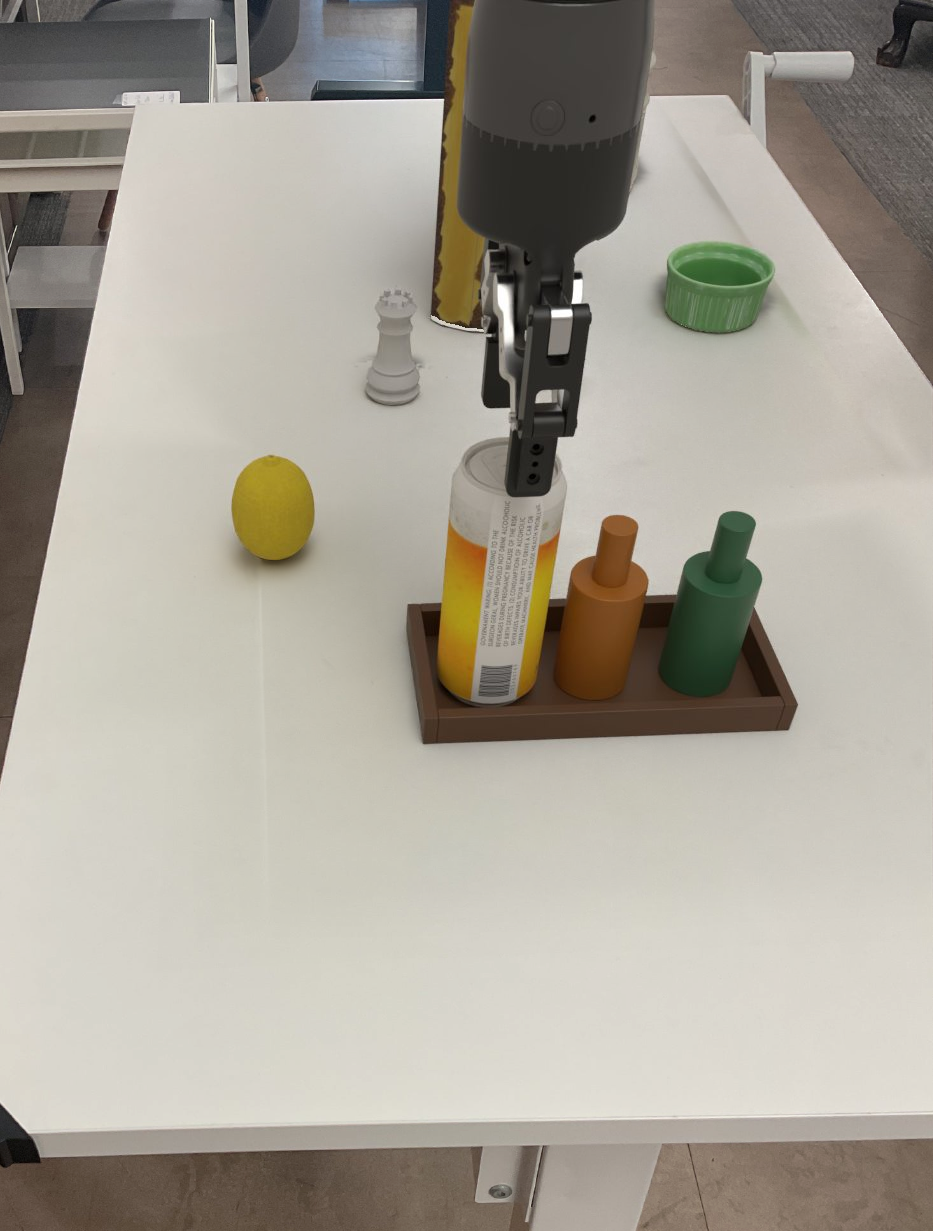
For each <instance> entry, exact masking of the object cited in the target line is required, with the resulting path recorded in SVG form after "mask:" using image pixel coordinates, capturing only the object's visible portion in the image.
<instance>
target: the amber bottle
mask: <svg viewBox="0 0 933 1231" xmlns="http://www.w3.org/2000/svg"><path fill="white" fill-rule="evenodd" d="M639 529H640V528H639V523H638V522H637V521H636V520H635V519H634V518H632V517H630V516H627V515H623V514H611V515H609V516H606V517H605V518H603V520H602V521H601V525H600V531H599V535H598V541H597V547H596V550H595V555H590V556H587V557H584V558H582V559H580V560H579V561H577V562H576V563H575V564H574V565H573V567H571V568H572V569H571V571H570V574H569V581H568V586H567V592H566V603H565V608H564V614H563V620H562V626H561V632H560V637H559V643H558V649H557V655H556V660H555V666H554V678H555V681H556V683H557V685H558V686H559V687H560V688H561V689H562V690H563V691H565V692H566V693H568V694H569V695H571V696H574V697H576V698H580V699H584V700H592V701H597V700H605V699H609V698H611V697H614V696H615V695H617V694H618V693H620V692H621V691H622V689H623V688H624V686H625V684H626V680H627V675H628V671H629V667H630V662H631V658H632V654H633V649H634V645H635V641H636V636H637V632H638V628H639V623H640V619H641V615H642V610H643V606H644V602H645V597H646V595H647V594H648V588H649V583H650V582H649V580H650V579H649V577H648V574H647V573H646V571H645V570H644V569H643V568H642V566H641V565H639V564H638V563H636V562H634V561H633V556H634V552H635V551H634V550H635V546H636V541H637V537H638V532H639Z"/></svg>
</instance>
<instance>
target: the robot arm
mask: <svg viewBox="0 0 933 1231" xmlns="http://www.w3.org/2000/svg"><path fill="white" fill-rule="evenodd" d="M655 10H656V0H475V2H474V8H473V13H472V18H471V23H470V29H469V35H468V43H467V54H466V69H465V84H464V99H463V113H462V129H461V144H460V159H459V174H458V189H457V210H458V214H459V216H460V218H461V220H462V221H463V222H464V224H465V225H466V226H467V227H468V228H469V229H471V230H472V231H473V232H475V233H476V234H478V235H480V236H482V237H484V238H485V240H484V250H483V261H482V272H481V282H480V289H478V300H480V306H481V307H482V313H483V315H484V316H483V317H482V320H481V325H482V327H483V330H484V333H483V334H484V335H491V336H485V345H484V356H483V365H482V366H483V368H482V380H481V389H480V390H481V391H480V398H481V401H482V404H483V406H484V407H485V408H486V409H509V412H508V423H509V424H510V426H509V435H508V437H509V443H508V452H507V461H506V470H505V479H504V484H505V488H506V492H507V494H508V495H509V496H511V497H540V496H544V495H546V494H547V493H548V492H549V491H550V489H551V484H552V477H553V470H554V463H555V456H556V454H557V450H558V449H557V448H558V441H559V438H573V437H574V436H575V435H576V434H575V433H576V430H577V428H578V413H579V407H580V399H581V392H582V385H583V376H584V372H585V371H584V369H585V364H586V363H585V362H586V355H587V349H588V348H587V347H588V341H589V340H588V339H589V335H590V334H589V333H590V325H592V321H593V313H592V311H591V305H590V304H589V302H583V301H584V274H583V271H582V270H575V267H576V266H575V265H576V263H575V257H576V254H578V252H579V251H581V250H582V249H583V248H585V247H586V246H588V245H589V244H591V243H594V242H595V241H598V242H599V241H600V240H602V239H604V238H606V237H608V236H609V235H612V233H613V232H615V231H616V230H617V229H618V228H619V226H621V224H622V222H623V221H624V219H625V216H626V214H627V209H628V203H629V197H630V192H631V191H630V185H631V179H632V173H633V167H634V161H635V154H636V148H637V142H638V136H639V130H640V124H641V118H642V111H643V105H644V99H645V93H646V87H647V88H648V80H649V74H650V72H649V69H650V63H651V56H652V51H653V48H654V35H655V34H654V33H655ZM629 191H630V192H629ZM542 391H551V402H536V401H537V396H538V394H539V393H540V392H542Z"/></svg>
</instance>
